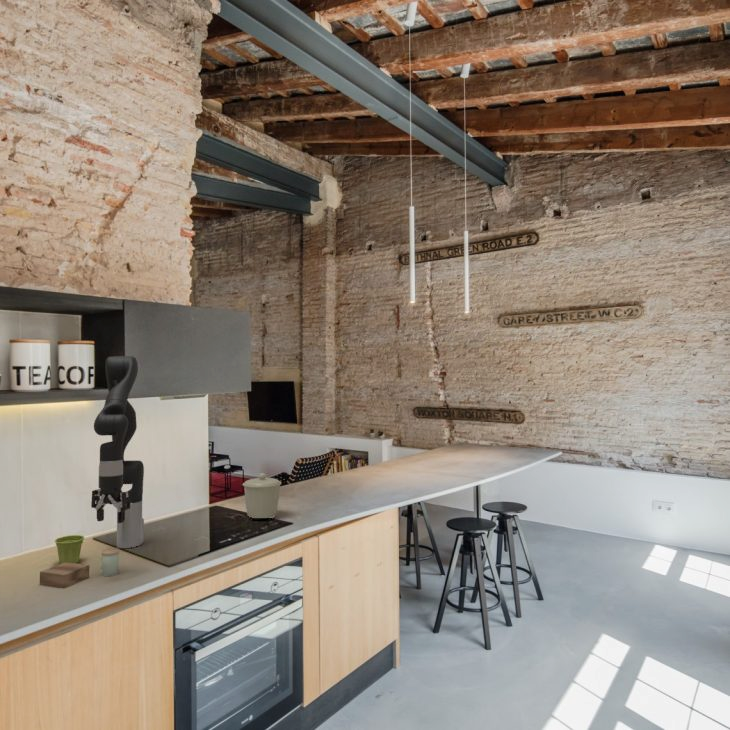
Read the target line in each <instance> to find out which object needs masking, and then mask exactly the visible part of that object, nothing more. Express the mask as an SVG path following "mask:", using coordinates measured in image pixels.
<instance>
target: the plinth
mask: <svg viewBox="0 0 730 730" xmlns="http://www.w3.org/2000/svg"><path fill="white" fill-rule="evenodd" d="M88 578H90V564H84V563H70V562H65V563H62V564H59V563H58V564H57V565H54V566H52V567H48V568H46V569H44V570H42V571H39V585H41V586H48V587H52V588H53V587H54V588H61V589H65V588H68V587H70V586H72V585H75V584H77V583H79V582H81V581H83V580H86V579H88Z"/></svg>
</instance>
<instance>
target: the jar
mask: <svg viewBox="0 0 730 730" xmlns="http://www.w3.org/2000/svg"><path fill="white" fill-rule="evenodd" d="M119 564H120V548H118V547H109V548H105V549H102V550H101V576H102V577H112V576H116V575H118V574H119V573H120V569H119V568H120V565H119Z"/></svg>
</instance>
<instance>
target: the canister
mask: <svg viewBox="0 0 730 730" xmlns="http://www.w3.org/2000/svg"><path fill="white" fill-rule="evenodd" d="M281 485H282V481H280V480H279V479H277V478H275V477H274V478H273V477H267V475H266V473H264V472H262V473H259V474H258V476H257V477H256V478H255V477H254V478H251V479H248V480H246V481H244V482H243V483H242V486H243V489H244V498H245V499H244V501H245V507H246V514H247V517H248V516H249V517H252V518H268V517H273V516H275V515H276V516H277V514H278V509H279V498H280V489H281V488H280V487H281ZM276 516H275V517H276ZM249 517H248V518H249Z"/></svg>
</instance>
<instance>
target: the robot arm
mask: <svg viewBox="0 0 730 730" xmlns="http://www.w3.org/2000/svg"><path fill="white" fill-rule="evenodd" d="M104 367H105V375H106V376H105V377H106V382H107V383H106V384H107V389H108V390H107V392H108V393H107V395H106V398H105V402H104V406H103V407H102V409H101V410H100V412H99V413H98V414H97V416H96V417H95V420H94V422H93V429H94V432H95V433H96V434H97V435H98V436H105V437H106V436H111V441H108V442H107V441H106V442H104V443H101V444H100V445H99V446H100V447H99V465H98V488H97V489H94V490H92V492H91V502H90V503H91V504H90V506H91V508H92V509H93V508H94V509H95V511H96V520H97V522H103V521H104V520H105V509H104V508H105V506H106V505H112V506H113V507H114V508H115V509H116V548H119V549H130V548H131V547H132V548H136V546H137V547H140V546H141V545H142V544H143V543H145V539H144V538H145V519H144V517H143V494H144V493H143V491H144V477H145V476H144V475H145V474H144V473H145V467H144V463H143V461H141V460H125V458H124V455H125V450H126V448H127V446H128V445H129V443H130V441H131V440H132V438H133V436H134V435H135V434H136V431H137V414H136V410H135V409H134V407H133V405H132V404H131V403H130V402H129V400H128V398H129V396H130V393H131V390H132V388H133V387H134V384H135V382H136V379H137V377H138V371H139V369H138V368H139V367H138V361H137V358H136V357H135V356H133V355H132V356H131V355H124V356H123V355H120V356H119V355H118V356H117V355H116V356H108V357H107V358H106V359H105V366H104ZM118 381H119V382H118ZM124 485H131V487H130V489H129V490H127V491H122V488H123V486H124Z"/></svg>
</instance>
